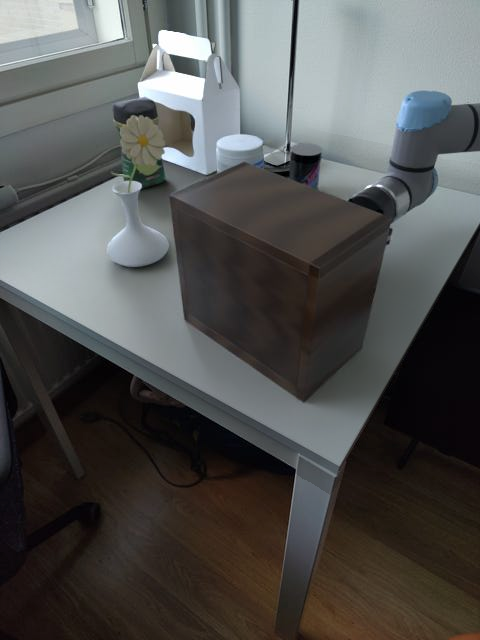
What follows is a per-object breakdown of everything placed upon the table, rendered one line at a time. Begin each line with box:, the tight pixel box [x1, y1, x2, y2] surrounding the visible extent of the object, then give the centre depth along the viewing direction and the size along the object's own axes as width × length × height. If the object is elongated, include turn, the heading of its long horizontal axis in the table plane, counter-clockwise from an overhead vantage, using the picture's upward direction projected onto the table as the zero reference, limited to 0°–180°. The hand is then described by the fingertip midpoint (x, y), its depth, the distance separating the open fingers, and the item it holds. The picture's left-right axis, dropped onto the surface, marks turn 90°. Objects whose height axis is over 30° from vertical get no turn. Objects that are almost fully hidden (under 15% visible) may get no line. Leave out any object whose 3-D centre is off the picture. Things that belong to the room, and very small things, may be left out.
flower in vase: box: [106, 115, 170, 268], centre depth 79 cm, size 13×11×25 cm
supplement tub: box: [216, 133, 265, 174], centre depth 95 cm, size 10×10×15 cm
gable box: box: [137, 30, 241, 176], centre depth 113 cm, size 22×13×28 cm, turn 50°
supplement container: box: [288, 143, 323, 190], centre depth 102 cm, size 7×7×10 cm
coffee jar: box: [112, 97, 166, 189], centre depth 105 cm, size 10×8×19 cm
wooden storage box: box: [168, 162, 392, 403], centre depth 64 cm, size 24×14×22 cm, turn 46°
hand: (287, 265), depth 65 cm, fingers closed on deodorant, 6 cm apart
